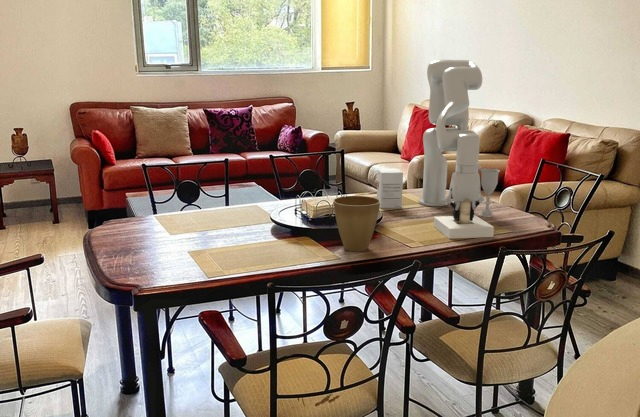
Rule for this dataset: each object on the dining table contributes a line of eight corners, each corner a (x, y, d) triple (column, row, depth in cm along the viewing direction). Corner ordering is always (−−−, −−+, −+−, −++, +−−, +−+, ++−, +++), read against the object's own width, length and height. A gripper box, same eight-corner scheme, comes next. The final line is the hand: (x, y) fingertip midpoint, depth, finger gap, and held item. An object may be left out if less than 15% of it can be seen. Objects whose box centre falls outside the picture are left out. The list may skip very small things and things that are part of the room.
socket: (433, 226, 230) (433, 216, 229) (474, 224, 232) (475, 215, 231) (449, 238, 214) (449, 228, 213) (493, 236, 217) (493, 227, 216)
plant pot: (388, 248, 204) (389, 200, 200) (358, 258, 193) (359, 208, 189) (352, 238, 213) (353, 192, 209) (323, 248, 203) (323, 200, 199)
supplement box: (375, 203, 263) (377, 168, 259) (396, 203, 264) (398, 168, 260) (380, 208, 254) (381, 172, 250) (401, 208, 255) (403, 172, 251)
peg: (454, 228, 225) (456, 195, 222) (466, 228, 225) (468, 195, 223) (459, 232, 221) (461, 198, 218) (470, 231, 221) (473, 198, 218)
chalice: (494, 213, 248) (498, 168, 244) (497, 217, 242) (501, 172, 237) (475, 212, 249) (479, 168, 244) (478, 217, 242) (481, 171, 238)
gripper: (485, 166, 223) (481, 216, 227) (439, 167, 220) (436, 218, 224) (494, 170, 216) (490, 222, 220) (447, 171, 213) (444, 223, 217)
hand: (463, 219), depth 222 cm, fingers closed on peg, 4 cm apart
